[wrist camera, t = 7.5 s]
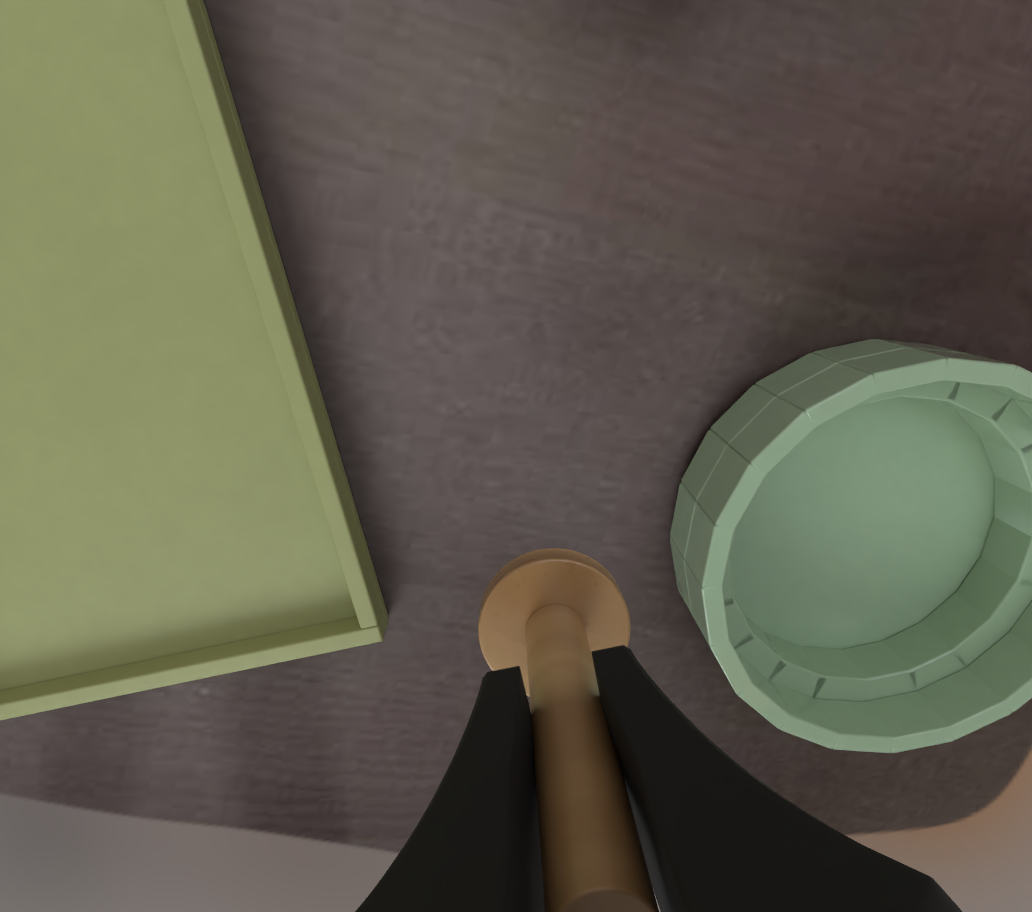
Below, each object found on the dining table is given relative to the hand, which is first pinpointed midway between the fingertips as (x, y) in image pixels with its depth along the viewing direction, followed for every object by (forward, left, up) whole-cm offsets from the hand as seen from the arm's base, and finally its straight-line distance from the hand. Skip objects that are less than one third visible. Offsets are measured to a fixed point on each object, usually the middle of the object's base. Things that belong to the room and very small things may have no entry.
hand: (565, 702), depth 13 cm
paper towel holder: (-1, 0, -4) cm, 4 cm away
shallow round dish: (-3, -10, -10) cm, 15 cm away
